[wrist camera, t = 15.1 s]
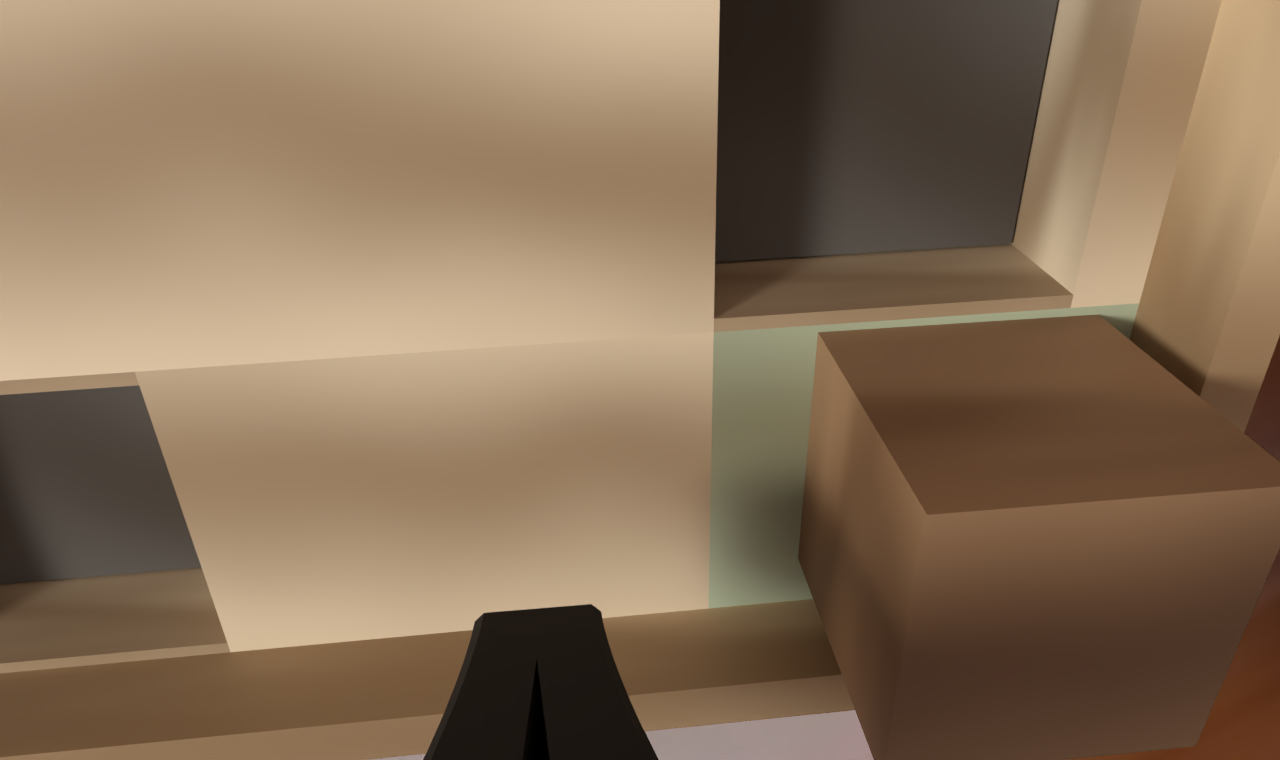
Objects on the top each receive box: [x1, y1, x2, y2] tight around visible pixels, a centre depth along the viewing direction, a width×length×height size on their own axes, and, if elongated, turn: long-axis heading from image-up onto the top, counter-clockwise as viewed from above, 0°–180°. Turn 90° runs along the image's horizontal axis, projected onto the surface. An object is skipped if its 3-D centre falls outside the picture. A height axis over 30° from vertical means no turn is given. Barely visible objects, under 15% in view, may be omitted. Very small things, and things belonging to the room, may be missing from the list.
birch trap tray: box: [0, 0, 1280, 760], centre depth 12 cm, size 11×23×4 cm, turn 91°
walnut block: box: [798, 314, 1280, 760], centre depth 12 cm, size 4×4×4 cm
